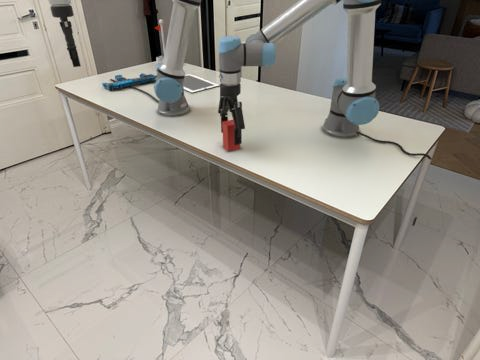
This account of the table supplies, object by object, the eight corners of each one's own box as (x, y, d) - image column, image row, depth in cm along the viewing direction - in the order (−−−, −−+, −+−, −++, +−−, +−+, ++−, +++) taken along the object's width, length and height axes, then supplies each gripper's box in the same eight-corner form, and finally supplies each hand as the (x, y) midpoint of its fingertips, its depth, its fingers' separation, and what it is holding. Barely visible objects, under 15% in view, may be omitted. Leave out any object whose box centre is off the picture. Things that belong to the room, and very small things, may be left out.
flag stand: (173, 62, 249) (168, 17, 233) (177, 66, 239) (172, 20, 223) (155, 64, 245) (149, 18, 229) (158, 68, 235) (152, 21, 219)
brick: (234, 143, 139) (234, 119, 133) (240, 148, 136) (240, 123, 130) (222, 146, 137) (222, 121, 131) (228, 151, 134) (227, 126, 128)
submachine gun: (146, 68, 225) (164, 74, 209) (147, 73, 227) (165, 80, 210) (94, 78, 207) (110, 85, 190) (96, 84, 209) (112, 92, 192)
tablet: (163, 80, 212) (163, 79, 212) (190, 74, 223) (190, 73, 223) (192, 93, 192) (192, 92, 192) (220, 85, 203) (220, 85, 203)
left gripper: (48, 2, 136) (63, 57, 148) (50, 9, 118) (67, 71, 129) (68, 1, 139) (82, 55, 151) (74, 8, 120) (88, 68, 132)
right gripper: (208, 76, 130) (210, 128, 142) (235, 94, 112) (235, 152, 124) (225, 73, 132) (226, 125, 144) (255, 91, 115) (253, 148, 127)
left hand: (75, 62), depth 140 cm, fingers open, 13 cm apart
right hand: (231, 137), depth 134 cm, fingers open, 11 cm apart
